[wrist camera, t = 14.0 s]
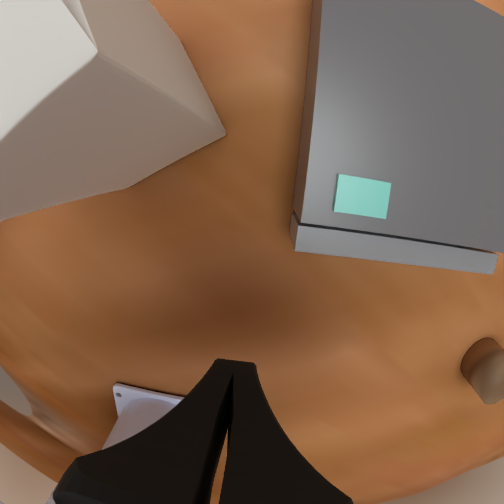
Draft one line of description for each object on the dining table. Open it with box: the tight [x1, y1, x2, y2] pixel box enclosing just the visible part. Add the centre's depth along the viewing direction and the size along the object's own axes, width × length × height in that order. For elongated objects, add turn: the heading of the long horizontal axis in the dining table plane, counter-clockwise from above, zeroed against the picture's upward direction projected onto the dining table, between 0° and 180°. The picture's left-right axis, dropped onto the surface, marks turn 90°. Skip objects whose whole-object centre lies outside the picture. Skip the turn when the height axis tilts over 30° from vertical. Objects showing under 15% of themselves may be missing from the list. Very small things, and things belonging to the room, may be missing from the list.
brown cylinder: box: [461, 338, 504, 404], centre depth 19 cm, size 4×4×4 cm
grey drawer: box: [289, 212, 498, 275], centre depth 15 cm, size 14×12×4 cm
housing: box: [292, 0, 504, 253], centre depth 14 cm, size 14×12×6 cm
